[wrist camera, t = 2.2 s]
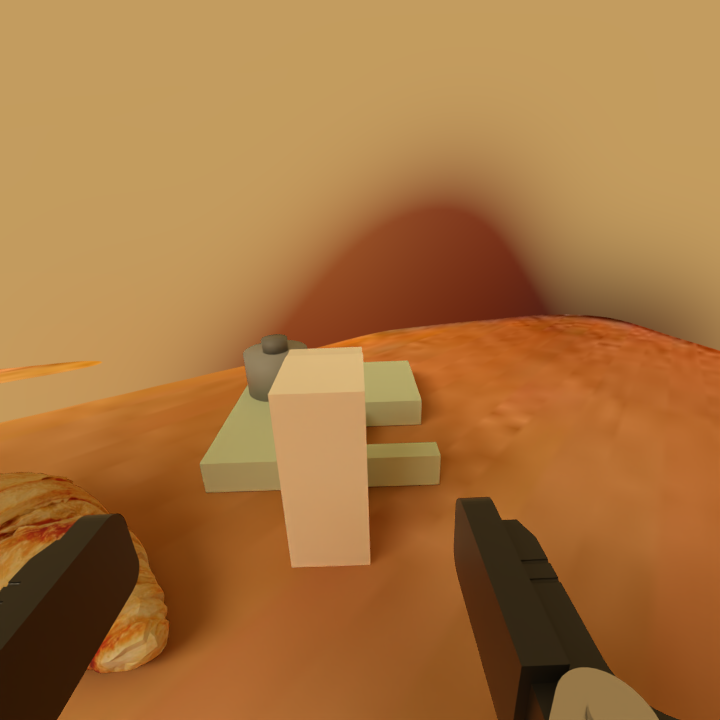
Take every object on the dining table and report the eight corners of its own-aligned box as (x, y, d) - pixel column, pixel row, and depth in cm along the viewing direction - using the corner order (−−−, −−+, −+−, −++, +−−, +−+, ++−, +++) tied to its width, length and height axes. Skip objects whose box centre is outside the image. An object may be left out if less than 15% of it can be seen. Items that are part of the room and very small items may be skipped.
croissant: (222, 651, 21) (246, 503, 22) (13, 853, 12) (66, 579, 12) (-26, 552, 27) (-3, 440, 28) (-295, 630, 18) (-250, 457, 18)
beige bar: (291, 567, 22) (267, 394, 18) (304, 493, 27) (289, 349, 23) (370, 564, 22) (364, 391, 18) (367, 491, 27) (362, 346, 23)
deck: (206, 492, 28) (184, 398, 25) (262, 385, 45) (252, 322, 42) (439, 484, 28) (444, 389, 25) (407, 380, 45) (408, 316, 42)
